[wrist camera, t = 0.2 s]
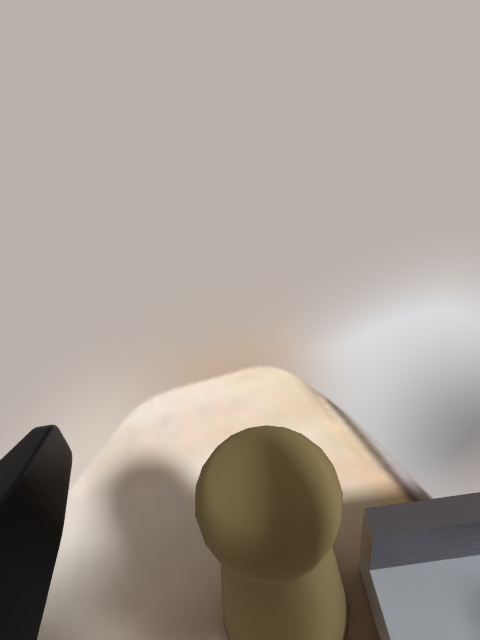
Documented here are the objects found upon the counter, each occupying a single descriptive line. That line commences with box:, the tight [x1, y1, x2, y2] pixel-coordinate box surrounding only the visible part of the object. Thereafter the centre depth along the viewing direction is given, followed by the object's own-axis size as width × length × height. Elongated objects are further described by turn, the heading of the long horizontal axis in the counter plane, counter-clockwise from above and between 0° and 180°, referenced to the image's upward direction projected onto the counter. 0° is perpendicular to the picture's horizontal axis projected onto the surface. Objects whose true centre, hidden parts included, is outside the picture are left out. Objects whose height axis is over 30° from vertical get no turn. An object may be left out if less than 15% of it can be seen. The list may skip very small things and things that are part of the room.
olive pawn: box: [195, 426, 348, 640], centre depth 17 cm, size 6×6×11 cm
